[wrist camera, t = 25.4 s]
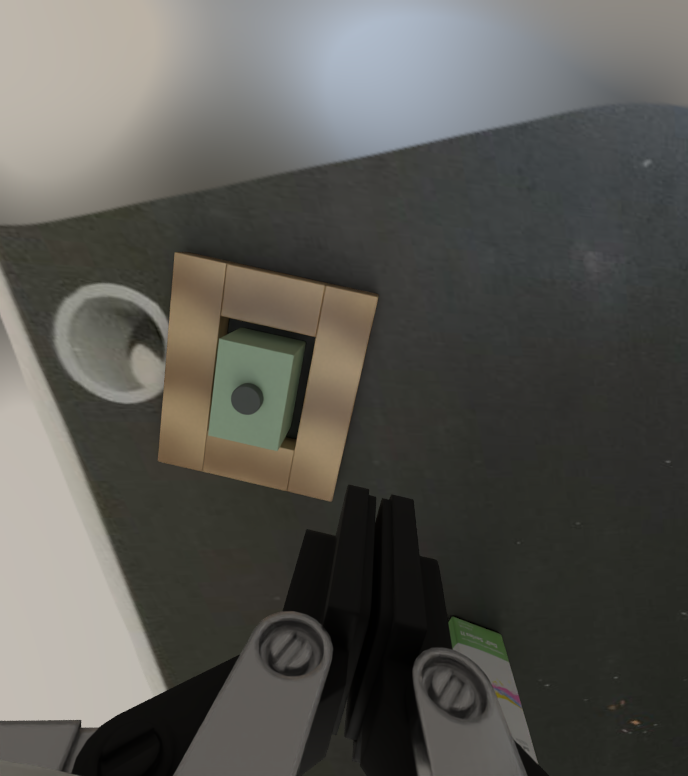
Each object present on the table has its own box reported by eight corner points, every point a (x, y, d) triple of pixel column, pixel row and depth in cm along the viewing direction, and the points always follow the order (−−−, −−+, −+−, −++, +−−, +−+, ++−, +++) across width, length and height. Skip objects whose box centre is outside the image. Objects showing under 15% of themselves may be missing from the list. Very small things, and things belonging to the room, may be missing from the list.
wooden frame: (187, 251, 31) (174, 251, 29) (379, 294, 31) (378, 297, 29) (169, 450, 36) (157, 461, 34) (334, 488, 36) (331, 502, 34)
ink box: (450, 612, 38) (487, 821, 24) (502, 632, 38) (569, 852, 24) (409, 678, 41) (421, 901, 27) (458, 697, 41) (495, 929, 27)
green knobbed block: (241, 327, 32) (214, 340, 27) (306, 341, 32) (291, 358, 27) (229, 412, 35) (203, 440, 30) (291, 426, 34) (274, 456, 29)
